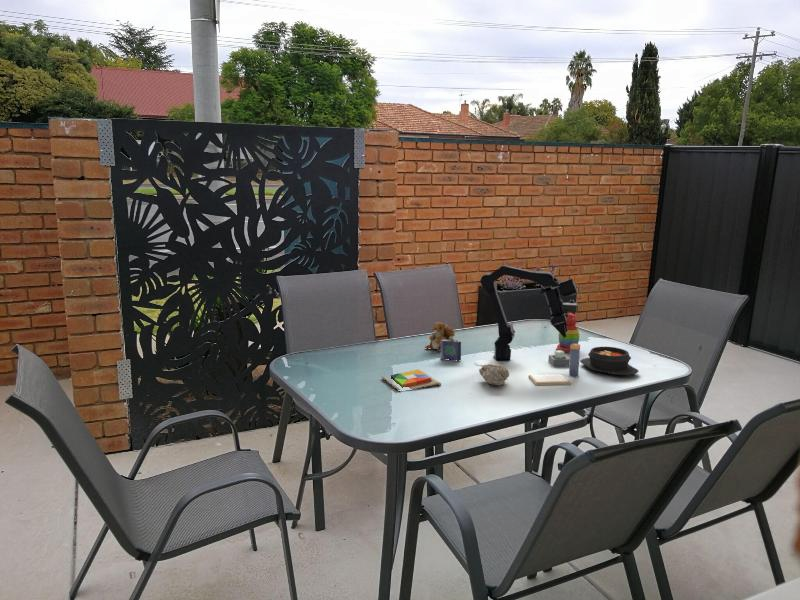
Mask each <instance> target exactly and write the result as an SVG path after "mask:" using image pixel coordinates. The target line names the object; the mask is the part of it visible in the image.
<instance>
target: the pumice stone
mask: <svg viewBox="0 0 800 600" xmlns="http://www.w3.org/2000/svg"><path fill="white" fill-rule="evenodd" d="M478 371H479V374H480V376H481V377H482V378H483V380H484V381H485V382H486V383H487V384H490V385H494V386H502V385H503V384H505V383H506V380H507V379H508V378H509V377H510V372H509V370H508V368H506V367H505V365H503V364H493V363H491V364H484V365H482V366H481V368H479V370H478Z"/></svg>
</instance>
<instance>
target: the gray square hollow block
mask: <svg viewBox="0 0 800 600" xmlns="http://www.w3.org/2000/svg"><path fill="white" fill-rule="evenodd" d="M547 360H548V363H549V364H550V365H551V366H552V367H570V357H568V356H566V355H565V354H564V359H555V358H554V354H548V359H547Z"/></svg>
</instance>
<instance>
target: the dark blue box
mask: <svg viewBox="0 0 800 600" xmlns="http://www.w3.org/2000/svg"><path fill="white" fill-rule="evenodd" d="M449 338H450V340H441V352H440V360H442V359H449V360H457V361H456V362H460V361H459V360H462V341H461V340H458V339H454V336H451V337H449Z"/></svg>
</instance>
